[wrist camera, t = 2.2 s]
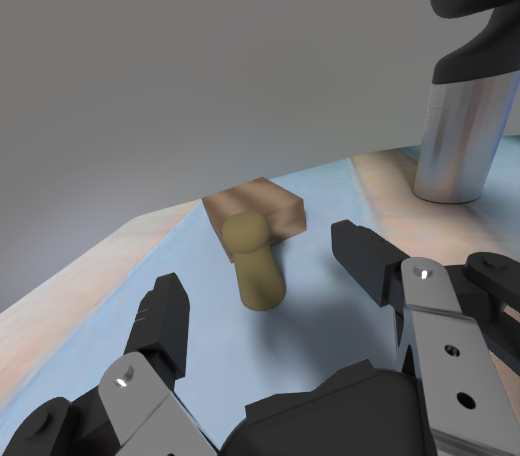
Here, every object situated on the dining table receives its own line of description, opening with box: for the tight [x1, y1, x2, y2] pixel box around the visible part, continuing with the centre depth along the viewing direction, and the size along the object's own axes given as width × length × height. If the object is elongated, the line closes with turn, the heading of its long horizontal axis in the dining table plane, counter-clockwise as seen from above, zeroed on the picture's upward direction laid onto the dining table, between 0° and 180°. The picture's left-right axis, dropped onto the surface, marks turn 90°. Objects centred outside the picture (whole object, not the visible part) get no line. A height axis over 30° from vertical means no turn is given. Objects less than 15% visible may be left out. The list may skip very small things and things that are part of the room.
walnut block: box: [201, 177, 306, 263], centre depth 41 cm, size 14×16×6 cm
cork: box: [221, 211, 286, 311], centre depth 25 cm, size 6×6×11 cm
